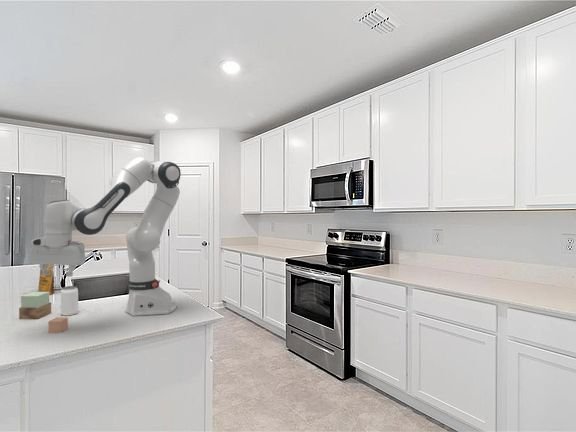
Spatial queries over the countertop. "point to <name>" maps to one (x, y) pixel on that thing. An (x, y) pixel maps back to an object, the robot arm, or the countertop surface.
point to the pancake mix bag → (47, 280)
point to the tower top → (34, 299)
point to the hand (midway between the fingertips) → (57, 275)
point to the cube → (58, 325)
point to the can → (69, 300)
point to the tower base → (35, 312)
